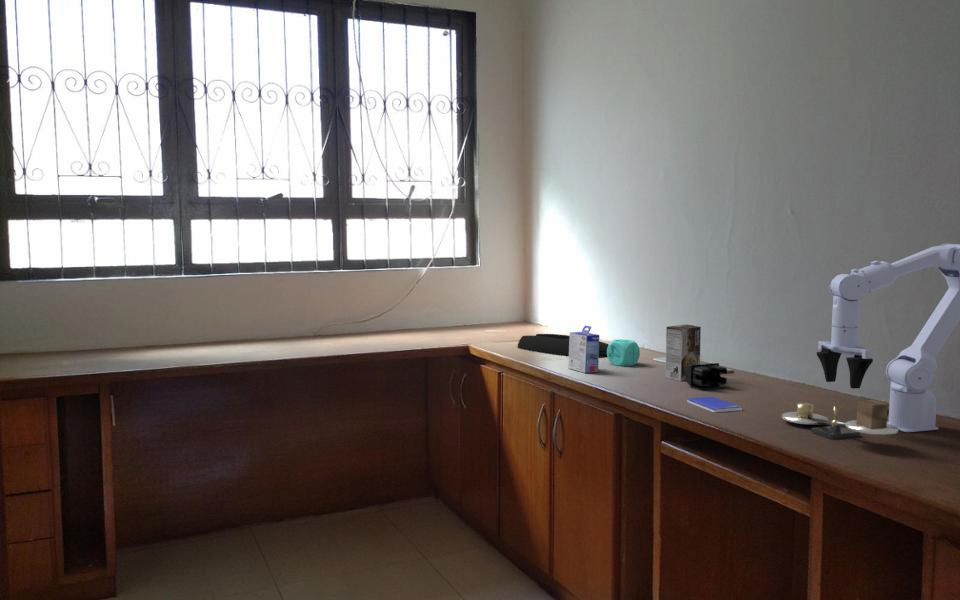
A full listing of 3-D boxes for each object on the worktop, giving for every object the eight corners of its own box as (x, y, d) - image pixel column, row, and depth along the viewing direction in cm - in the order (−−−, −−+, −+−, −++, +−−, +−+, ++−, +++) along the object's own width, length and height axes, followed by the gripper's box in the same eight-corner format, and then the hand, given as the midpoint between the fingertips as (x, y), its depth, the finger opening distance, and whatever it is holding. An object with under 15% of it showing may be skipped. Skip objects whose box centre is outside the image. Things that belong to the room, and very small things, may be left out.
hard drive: (742, 406, 193) (713, 396, 205) (714, 408, 190) (687, 398, 202) (742, 412, 193) (713, 401, 205) (714, 414, 191) (686, 403, 202)
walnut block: (871, 422, 163) (872, 400, 163) (886, 427, 159) (887, 404, 159) (856, 424, 162) (857, 401, 161) (871, 429, 158) (872, 405, 158)
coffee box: (683, 374, 240) (684, 324, 239) (700, 378, 235) (701, 326, 234) (664, 378, 235) (665, 326, 233) (681, 381, 230) (682, 328, 228)
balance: (806, 417, 186) (808, 391, 185) (908, 450, 158) (910, 420, 157) (772, 419, 183) (773, 393, 182) (869, 454, 155) (871, 424, 154)
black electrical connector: (711, 383, 226) (712, 361, 226) (727, 388, 220) (728, 365, 219) (684, 386, 223) (684, 363, 222) (699, 391, 216) (700, 367, 216)
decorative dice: (624, 367, 253) (625, 343, 252) (606, 364, 259) (606, 340, 259) (639, 364, 258) (640, 341, 258) (621, 361, 264) (622, 338, 264)
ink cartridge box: (599, 372, 244) (600, 327, 242) (585, 373, 241) (586, 328, 240) (581, 367, 252) (582, 324, 251) (567, 368, 250) (568, 325, 248)
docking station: (588, 361, 266) (588, 347, 265) (506, 348, 295) (506, 335, 295) (631, 354, 282) (631, 340, 282) (549, 342, 312) (550, 330, 312)
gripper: (808, 323, 180) (806, 379, 182) (855, 331, 167) (852, 392, 168) (832, 322, 183) (830, 378, 184) (881, 329, 169) (878, 390, 170)
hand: (842, 384), depth 176 cm, fingers open, 7 cm apart
